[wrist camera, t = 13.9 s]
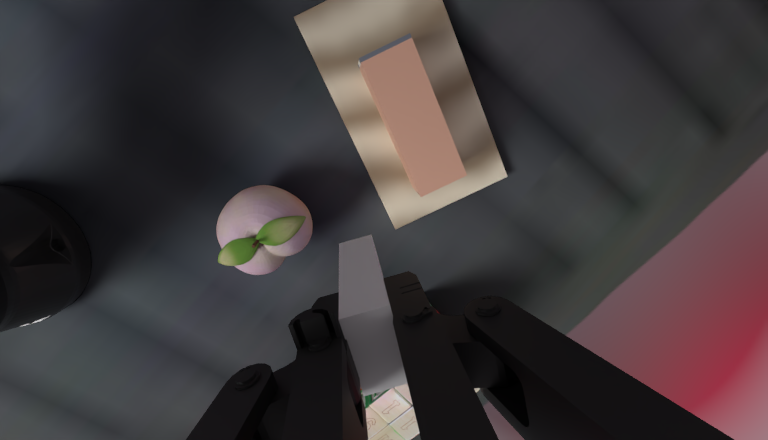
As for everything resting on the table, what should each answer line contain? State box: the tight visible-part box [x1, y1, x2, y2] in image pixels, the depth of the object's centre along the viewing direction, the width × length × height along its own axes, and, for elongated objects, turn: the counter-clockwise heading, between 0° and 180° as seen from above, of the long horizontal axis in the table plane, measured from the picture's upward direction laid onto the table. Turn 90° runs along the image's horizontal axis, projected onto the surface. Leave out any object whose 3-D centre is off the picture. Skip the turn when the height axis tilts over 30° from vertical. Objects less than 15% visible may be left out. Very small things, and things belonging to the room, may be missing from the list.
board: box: [294, 0, 508, 229], centre depth 41 cm, size 24×14×1 cm, turn 25°
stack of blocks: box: [360, 304, 480, 440], centre depth 43 cm, size 21×6×12 cm, turn 129°
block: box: [358, 33, 467, 197], centre depth 38 cm, size 5×5×14 cm
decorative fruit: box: [216, 185, 313, 275], centre depth 38 cm, size 9×8×10 cm
